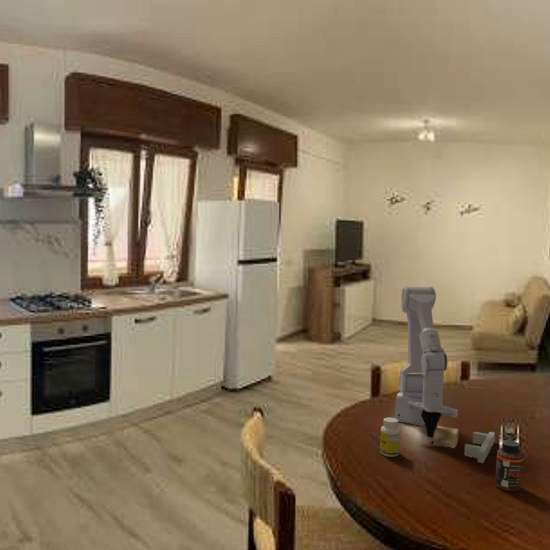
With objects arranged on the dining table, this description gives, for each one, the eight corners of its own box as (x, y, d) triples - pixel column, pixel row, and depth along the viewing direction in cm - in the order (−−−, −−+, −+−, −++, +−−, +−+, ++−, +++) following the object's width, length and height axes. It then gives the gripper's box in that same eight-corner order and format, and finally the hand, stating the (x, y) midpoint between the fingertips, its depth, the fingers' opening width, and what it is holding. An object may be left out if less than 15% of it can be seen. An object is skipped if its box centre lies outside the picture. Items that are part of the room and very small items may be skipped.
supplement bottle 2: (509, 494, 144) (511, 449, 143) (489, 484, 149) (492, 440, 148) (526, 489, 147) (529, 445, 145) (506, 480, 152) (509, 436, 151)
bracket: (462, 458, 165) (462, 448, 164) (475, 438, 180) (475, 429, 180) (483, 463, 162) (483, 452, 162) (494, 442, 178) (494, 432, 177)
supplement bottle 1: (377, 449, 170) (378, 416, 169) (396, 449, 171) (397, 416, 170) (382, 457, 165) (384, 423, 164) (401, 457, 165) (403, 422, 164)
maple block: (433, 445, 174) (434, 432, 174) (437, 438, 180) (437, 425, 179) (454, 448, 172) (455, 435, 172) (457, 442, 177) (458, 429, 177)
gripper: (404, 390, 177) (402, 435, 178) (454, 398, 170) (452, 445, 171) (411, 385, 183) (409, 428, 184) (460, 392, 176) (457, 437, 177)
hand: (430, 436), depth 178 cm, fingers closed
